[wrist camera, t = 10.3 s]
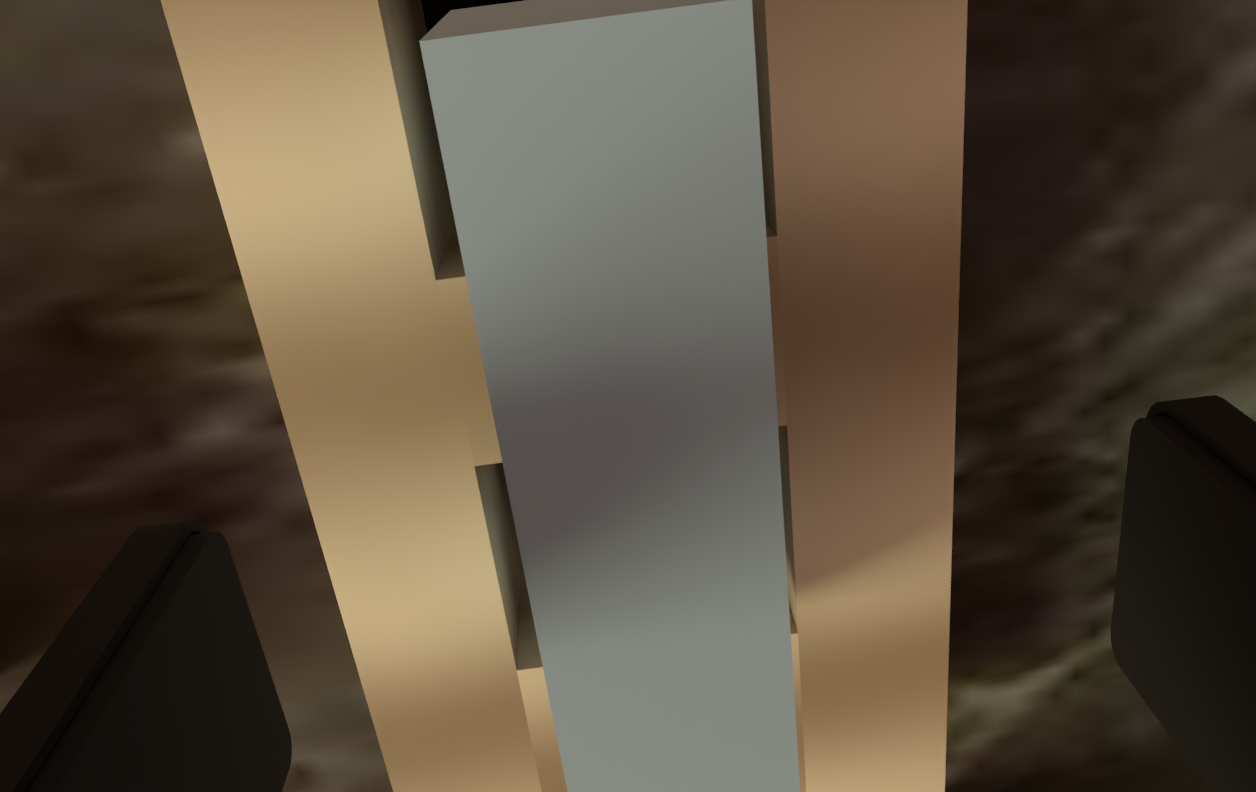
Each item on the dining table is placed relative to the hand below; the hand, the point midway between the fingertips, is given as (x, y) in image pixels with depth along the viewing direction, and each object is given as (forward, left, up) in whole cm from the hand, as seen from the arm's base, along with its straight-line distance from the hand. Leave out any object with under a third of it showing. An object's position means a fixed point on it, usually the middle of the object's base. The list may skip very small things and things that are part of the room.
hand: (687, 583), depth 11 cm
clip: (+1, 0, -9) cm, 9 cm away
